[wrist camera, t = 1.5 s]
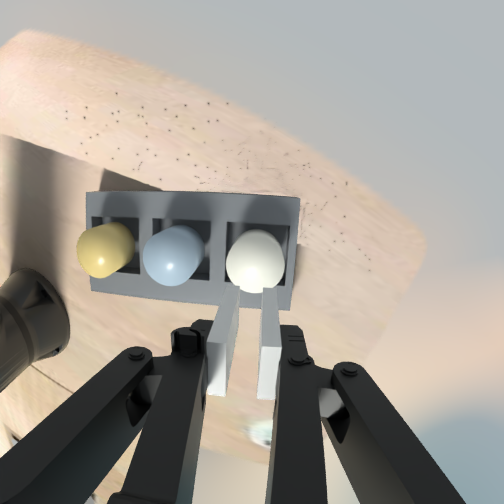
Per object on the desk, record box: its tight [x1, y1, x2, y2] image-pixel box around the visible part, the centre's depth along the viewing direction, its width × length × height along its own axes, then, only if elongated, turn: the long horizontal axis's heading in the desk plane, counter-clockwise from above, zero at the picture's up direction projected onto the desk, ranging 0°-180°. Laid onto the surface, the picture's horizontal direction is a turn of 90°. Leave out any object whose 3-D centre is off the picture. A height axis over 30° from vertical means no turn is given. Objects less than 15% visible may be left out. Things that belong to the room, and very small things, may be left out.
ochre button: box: [77, 222, 135, 278], centre depth 29 cm, size 5×5×4 cm
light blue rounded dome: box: [143, 225, 205, 286], centre depth 29 cm, size 5×5×4 cm
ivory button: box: [226, 229, 285, 293], centre depth 28 cm, size 5×5×4 cm
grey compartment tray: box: [86, 191, 300, 311], centre depth 32 cm, size 24×12×3 cm, turn 87°
